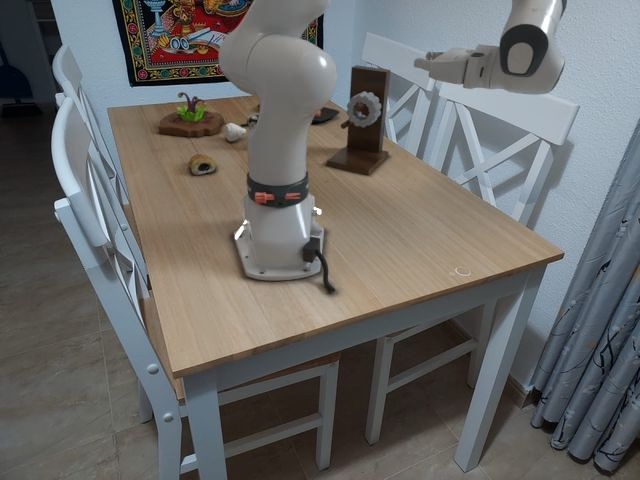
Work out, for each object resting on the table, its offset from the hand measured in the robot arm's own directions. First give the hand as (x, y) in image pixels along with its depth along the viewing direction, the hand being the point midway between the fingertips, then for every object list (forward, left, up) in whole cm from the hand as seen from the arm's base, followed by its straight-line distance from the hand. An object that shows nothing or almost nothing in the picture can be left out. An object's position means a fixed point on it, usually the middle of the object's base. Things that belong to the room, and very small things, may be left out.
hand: (420, 58), depth 105 cm
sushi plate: (+48, +29, -30) cm, 64 cm away
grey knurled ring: (+8, +11, -18) cm, 23 cm away
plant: (+42, +60, -30) cm, 79 cm away
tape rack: (+10, +11, -29) cm, 33 cm away
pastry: (+8, +54, -30) cm, 62 cm away
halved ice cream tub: (+22, +35, -30) cm, 51 cm away
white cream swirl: (+29, +45, -30) cm, 61 cm away
